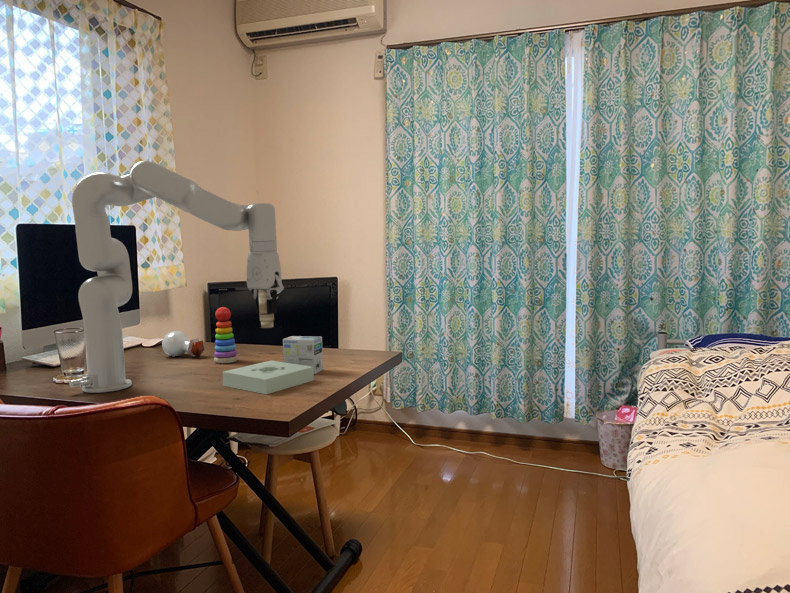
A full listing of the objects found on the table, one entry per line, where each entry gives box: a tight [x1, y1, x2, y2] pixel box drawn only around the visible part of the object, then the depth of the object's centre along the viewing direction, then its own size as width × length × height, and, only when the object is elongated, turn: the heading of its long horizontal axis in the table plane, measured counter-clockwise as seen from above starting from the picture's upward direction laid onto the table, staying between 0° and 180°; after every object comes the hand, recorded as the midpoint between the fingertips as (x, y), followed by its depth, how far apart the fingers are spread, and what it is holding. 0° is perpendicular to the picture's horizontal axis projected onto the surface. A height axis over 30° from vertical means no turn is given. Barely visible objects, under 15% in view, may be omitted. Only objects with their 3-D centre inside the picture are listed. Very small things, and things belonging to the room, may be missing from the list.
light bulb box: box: [282, 335, 324, 375], centre depth 179 cm, size 11×7×11 cm, turn 74°
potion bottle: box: [161, 330, 205, 358], centre depth 208 cm, size 9×10×15 cm
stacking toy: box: [213, 306, 239, 365], centre depth 196 cm, size 8×8×19 cm
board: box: [222, 360, 315, 395], centre depth 165 cm, size 18×18×4 cm
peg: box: [258, 286, 275, 329], centre depth 163 cm, size 4×4×12 cm
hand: (266, 312), depth 163 cm, fingers closed on peg, 4 cm apart
